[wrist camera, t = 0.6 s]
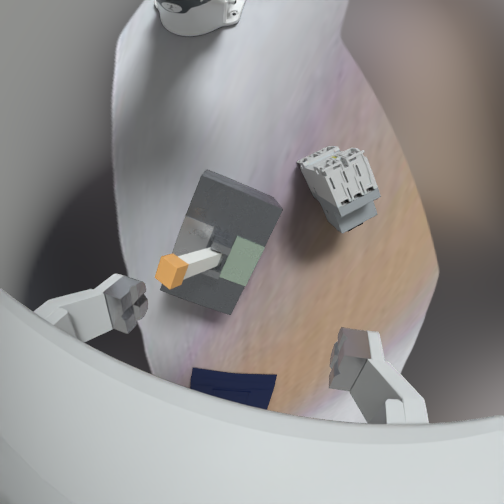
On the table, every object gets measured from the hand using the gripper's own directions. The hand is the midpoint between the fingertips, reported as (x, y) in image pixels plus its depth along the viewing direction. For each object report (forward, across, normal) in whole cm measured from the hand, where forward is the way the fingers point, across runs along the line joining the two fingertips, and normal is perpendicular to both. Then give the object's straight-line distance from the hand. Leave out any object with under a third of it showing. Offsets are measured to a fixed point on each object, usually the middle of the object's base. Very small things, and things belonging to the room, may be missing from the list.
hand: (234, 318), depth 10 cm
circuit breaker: (+48, -5, +2) cm, 48 cm away
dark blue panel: (+40, +10, +68) cm, 79 cm away
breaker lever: (+31, +11, +13) cm, 35 cm away
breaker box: (+40, +15, +14) cm, 45 cm away
